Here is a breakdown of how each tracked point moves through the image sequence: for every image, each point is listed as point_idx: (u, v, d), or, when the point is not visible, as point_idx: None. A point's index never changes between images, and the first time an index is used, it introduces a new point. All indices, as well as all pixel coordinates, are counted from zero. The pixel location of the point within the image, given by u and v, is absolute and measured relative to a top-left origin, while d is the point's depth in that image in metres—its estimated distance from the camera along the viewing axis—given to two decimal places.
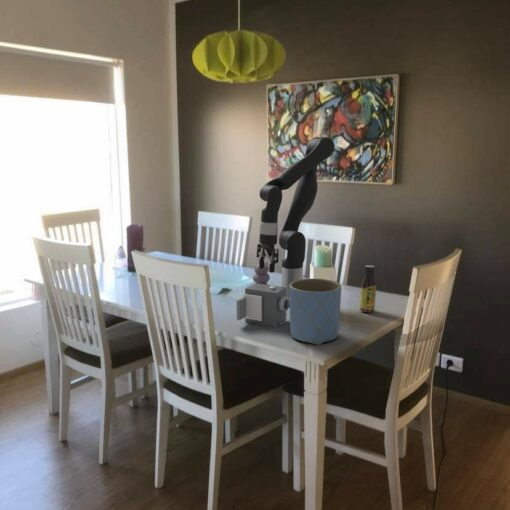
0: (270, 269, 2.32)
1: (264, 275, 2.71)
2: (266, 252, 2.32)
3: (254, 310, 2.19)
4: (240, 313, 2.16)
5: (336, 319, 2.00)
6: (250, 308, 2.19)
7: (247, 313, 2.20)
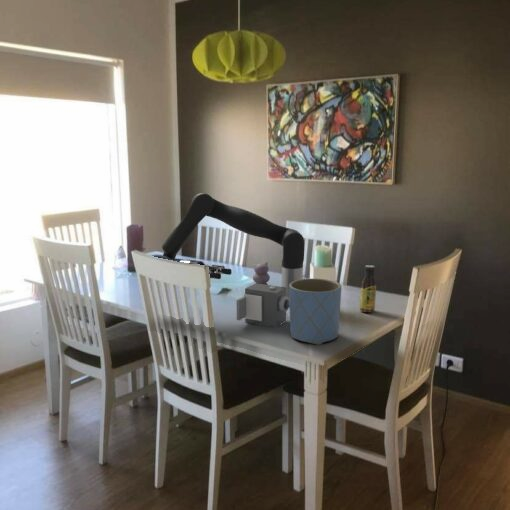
0: (217, 278, 2.15)
1: (264, 275, 2.71)
2: None
3: (254, 310, 2.19)
4: (240, 313, 2.16)
5: (336, 319, 2.00)
6: (250, 308, 2.19)
7: (247, 313, 2.20)
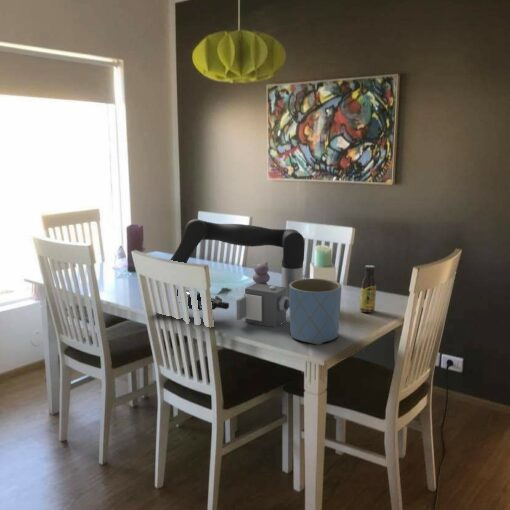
0: (224, 308, 2.20)
1: (264, 275, 2.71)
2: None
3: (254, 310, 2.19)
4: (240, 313, 2.16)
5: (336, 319, 2.00)
6: (250, 308, 2.19)
7: (247, 313, 2.20)
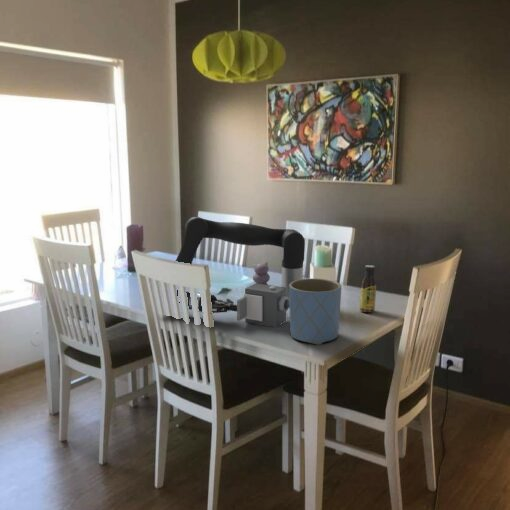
0: (235, 310, 2.18)
1: (264, 275, 2.71)
2: None
3: (255, 310, 2.18)
4: (240, 313, 2.16)
5: (336, 319, 2.00)
6: (250, 308, 2.19)
7: (247, 313, 2.20)
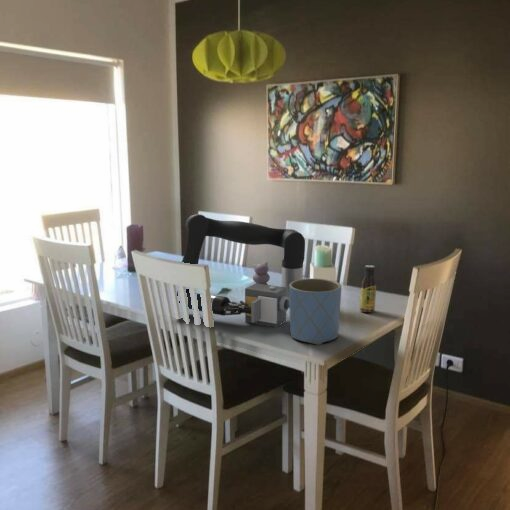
0: (249, 313, 2.15)
1: (264, 275, 2.71)
2: None
3: (269, 312, 2.15)
4: (255, 315, 2.13)
5: (336, 319, 2.00)
6: (265, 310, 2.16)
7: (261, 315, 2.17)
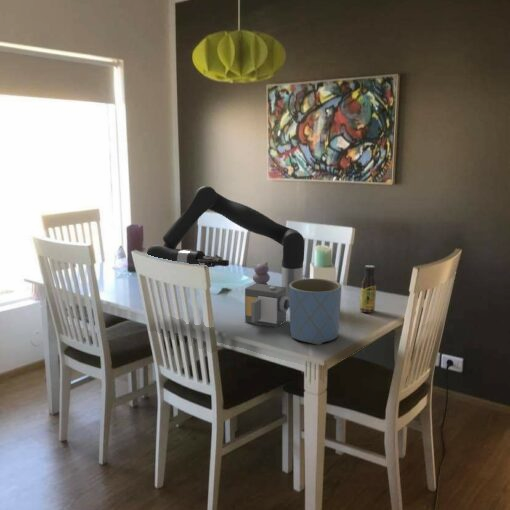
0: (223, 265, 2.16)
1: (264, 275, 2.71)
2: None
3: (269, 312, 2.15)
4: (255, 315, 2.13)
5: (336, 319, 2.00)
6: (265, 310, 2.16)
7: (262, 315, 2.17)
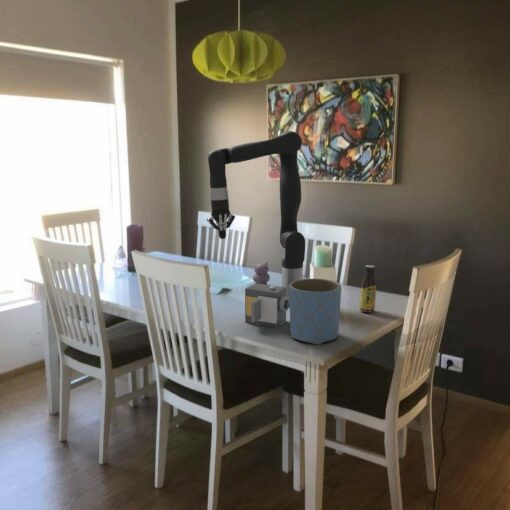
0: None
1: (264, 275, 2.71)
2: None
3: (269, 312, 2.15)
4: (255, 315, 2.13)
5: (336, 319, 2.00)
6: (265, 310, 2.16)
7: (262, 315, 2.17)
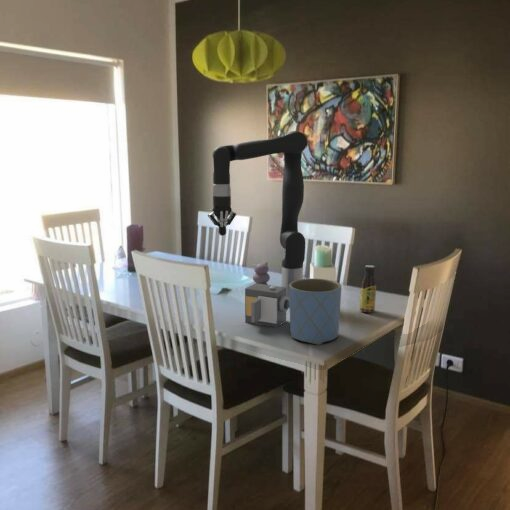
0: None
1: (264, 275, 2.71)
2: None
3: (269, 312, 2.15)
4: (255, 315, 2.13)
5: (336, 319, 2.00)
6: (265, 310, 2.16)
7: (262, 315, 2.17)
